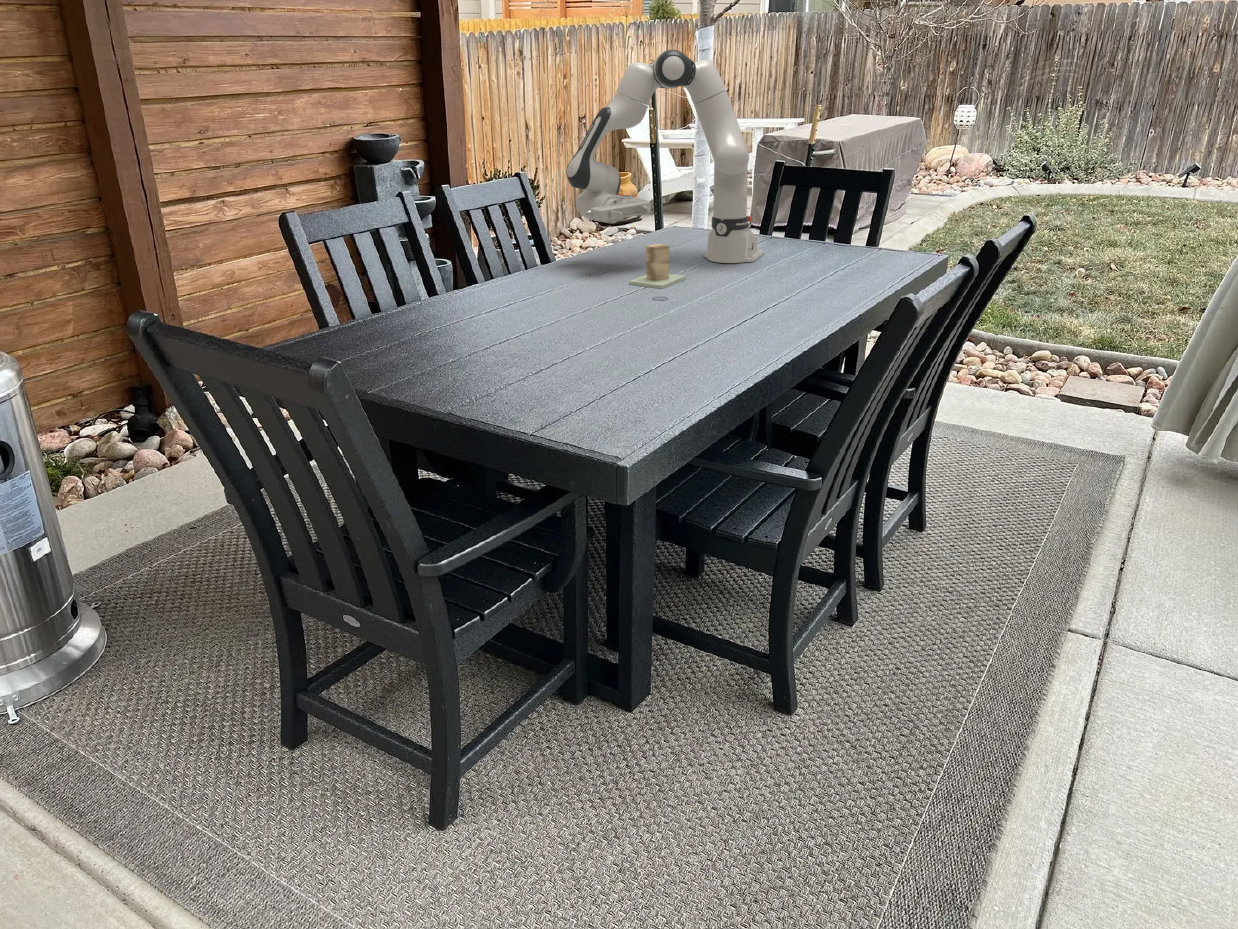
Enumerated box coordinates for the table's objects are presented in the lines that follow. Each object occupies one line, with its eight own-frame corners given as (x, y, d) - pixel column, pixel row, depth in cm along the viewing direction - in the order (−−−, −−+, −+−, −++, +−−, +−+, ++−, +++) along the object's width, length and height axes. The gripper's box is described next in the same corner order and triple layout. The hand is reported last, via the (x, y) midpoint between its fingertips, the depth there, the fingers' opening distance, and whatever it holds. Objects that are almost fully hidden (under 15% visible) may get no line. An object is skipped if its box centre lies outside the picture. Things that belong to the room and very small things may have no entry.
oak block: (646, 278, 284) (646, 245, 280) (659, 275, 287) (659, 243, 283) (656, 281, 280) (655, 248, 276) (669, 278, 283) (669, 245, 279)
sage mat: (652, 275, 292) (652, 272, 292) (685, 279, 286) (685, 276, 286) (628, 284, 282) (628, 281, 281) (662, 288, 276) (662, 285, 275)
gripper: (582, 202, 289) (606, 207, 278) (635, 194, 299) (660, 198, 289) (583, 223, 292) (608, 228, 281) (635, 214, 302) (661, 218, 291)
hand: (635, 213), depth 285 cm, fingers open, 8 cm apart
